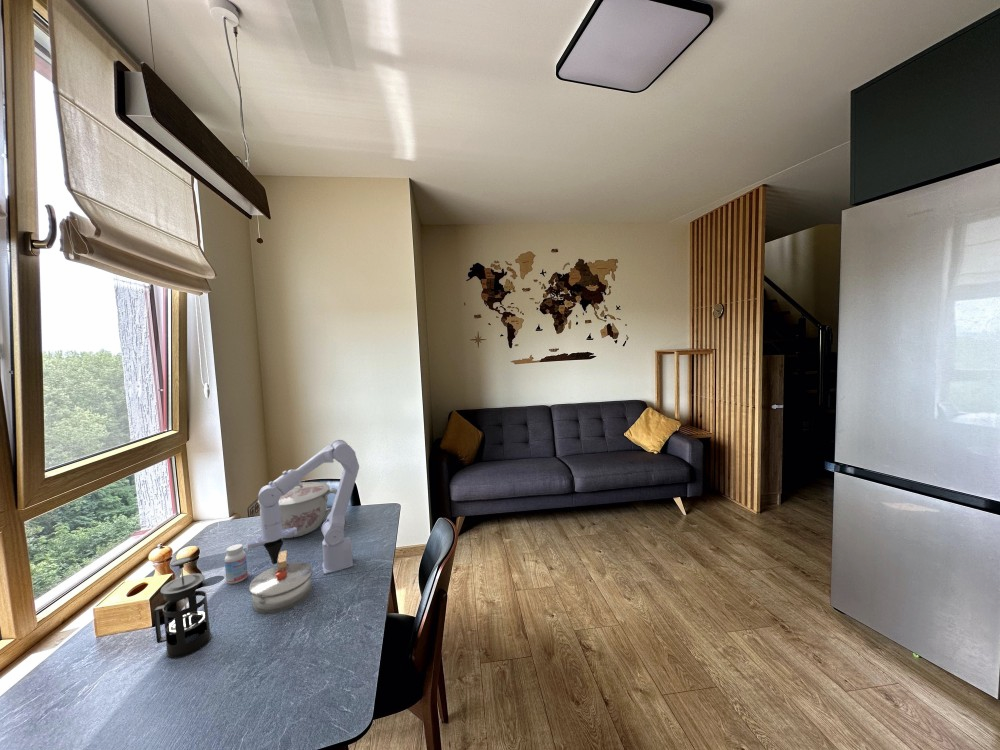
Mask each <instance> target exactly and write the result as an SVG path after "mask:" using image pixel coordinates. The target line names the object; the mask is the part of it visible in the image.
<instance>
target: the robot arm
mask: <svg viewBox="0 0 1000 750" xmlns="http://www.w3.org/2000/svg"><path fill="white" fill-rule="evenodd" d="M335 461H336V462H338V463H339V464H340V466H342V468H343V470H342V474H341V477H340V480H339V483H338V487H337V488H336V489H337V493H336V494H335V496H334V500H333V503H332V506H331V507H332V509H331V512H330V513H329V514H328V515H327V516H326V518H325V519H326V520H325V521H323V523H322V525H321V527H320V530H321V533H322V535H323V538H324V539H322V542H321V545H322V546H321V547H322V558H323V562H322V563H321V565H322V571H323V575H327V574H330V573H334V572H337V571H341V570H344V569H348V568H352V567H353V566H354V560H353V557H354V556H353V551H352V549H353V548H352V540H351V537H350V536H348V537H345V531H344V528H345V524H346V520H345V519H346V514H347V510H348V506H349V504H350V500H351V497H352V494H353V490H354V487H355V484H356V480H357V478H358V473H359V469H360V464H359V461H358V458H357V455H356V451H355V450H354V449H353V447H352V446H350V445H349V444H348V442H347V441H345V440H343V439H337V440H334V441H333V442H332V443H330V444H328V445H326V446H325V447H323V448H322V449H321V450H320V451H319V452H317V453H316V454H314V455H313V456H312V457H311V458H309V459H308V460H307V461H305V462H304V463H303V464H301V465H300V466H299V467H298V468H296V469H293V468H291V469H289V470H284V471H282V474H281V475H280V476H278V477H277V478H276V479H275V480H273V481H272V480H270V481H269V482H268V484H267V485H264V486H262V487H261V488H260V489H259V491H258V494H257V497H258V499H259V503H260V504H259V503H258V504H259V509H260V510H259V519H260V530H261V536H260V537H257V538H256V539H255V538H254V539H253V540H251V541H248V542H246V543H245V547H246V550H247V551H252V550H253V549H256V548H258V547H261V546H263V547H264V548H265V550H266V552H267V553H268V555H269V557H270V560H271V563H272V564H273V565H277V564H278V555H279V552H281V549H282V547H283V544H284V540H283V539H286V538H285V537H288V536H291V535H296V534H297V528H295V527H293V528H290V529H285V530H282V525H281V513H280V506H279V499H280V497H281V496H283V495H285V494H286V493H288V492H289V491H290V490H292V489H293V488H294V487H296V486H297V485H298V484H300V483H302V479H303V477H305V476H306V475H308V474H309V473H310V472H312V471H314V470H315V469H317V468H319V467H320V466H321V465H322V464H326V463H327V464H329V463H331V464H333V463H335Z"/></svg>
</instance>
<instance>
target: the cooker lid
mask: <svg viewBox="0 0 1000 750" xmlns="http://www.w3.org/2000/svg"><path fill="white" fill-rule="evenodd" d="M287 551H288V550H282V551H280V552H279V555H278V560H277V566H273V567H270V568H269V569H266V570H264V571H263V572H261V573H259V574H258V575H256V576H255V577H254V578H253V579H252V580H251V581H250V583H249V588H248V589H249V593H250V595H251V596H252V595H253V596H256V597H273V596H278V595H282V594H285V593H287V592H290V591H292V590H294V589H296V588H298V587H300V586H301V585H303V584H304V583H305V582H307V581H308V580H309V578H310V577H311V578H312V575H313V568H312V566H311V565H310V564H309V563H307V562H301V561H299V562H298V561H295V562H288V552H287Z"/></svg>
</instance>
